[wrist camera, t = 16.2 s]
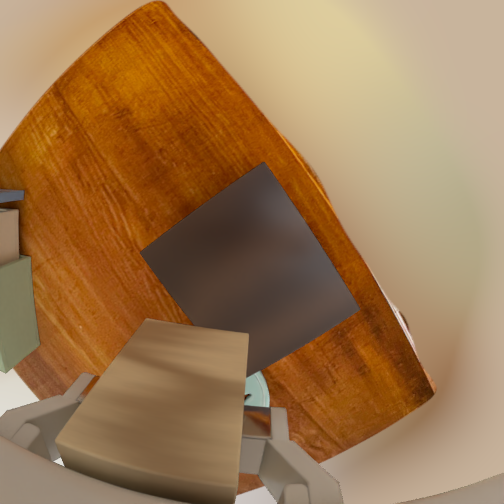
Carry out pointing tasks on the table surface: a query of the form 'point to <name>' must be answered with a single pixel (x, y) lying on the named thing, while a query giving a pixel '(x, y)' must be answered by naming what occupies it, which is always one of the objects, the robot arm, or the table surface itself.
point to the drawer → (9, 227)
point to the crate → (252, 270)
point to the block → (165, 415)
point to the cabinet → (17, 313)
